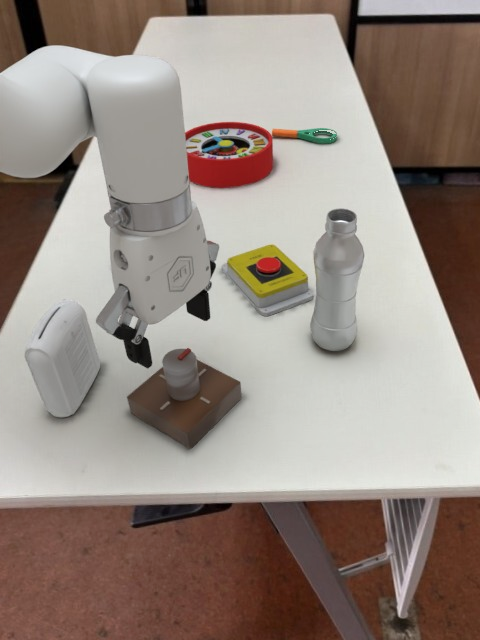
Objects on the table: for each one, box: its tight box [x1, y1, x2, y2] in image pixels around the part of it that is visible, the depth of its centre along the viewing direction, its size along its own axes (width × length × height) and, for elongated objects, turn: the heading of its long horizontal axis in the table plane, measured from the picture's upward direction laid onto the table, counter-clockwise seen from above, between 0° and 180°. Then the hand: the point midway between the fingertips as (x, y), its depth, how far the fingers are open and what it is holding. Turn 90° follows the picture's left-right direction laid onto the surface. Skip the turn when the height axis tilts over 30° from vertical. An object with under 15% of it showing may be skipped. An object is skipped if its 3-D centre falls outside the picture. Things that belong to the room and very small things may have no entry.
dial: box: [161, 347, 200, 401], centre depth 69 cm, size 4×4×5 cm
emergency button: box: [221, 244, 314, 317], centre depth 91 cm, size 9×4×15 cm
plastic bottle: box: [309, 208, 365, 352], centre depth 75 cm, size 6×7×20 cm
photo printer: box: [24, 298, 101, 418], centre depth 71 cm, size 10×4×12 cm, turn 170°
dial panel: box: [126, 358, 243, 450], centre depth 72 cm, size 10×10×3 cm
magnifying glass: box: [271, 127, 338, 144], centre depth 134 cm, size 15×6×2 cm, turn 81°
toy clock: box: [185, 121, 274, 189], centre depth 122 cm, size 20×6×20 cm
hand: (170, 337), depth 65 cm, fingers open, 9 cm apart
